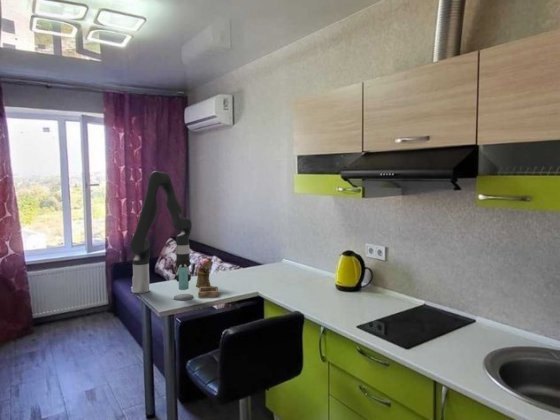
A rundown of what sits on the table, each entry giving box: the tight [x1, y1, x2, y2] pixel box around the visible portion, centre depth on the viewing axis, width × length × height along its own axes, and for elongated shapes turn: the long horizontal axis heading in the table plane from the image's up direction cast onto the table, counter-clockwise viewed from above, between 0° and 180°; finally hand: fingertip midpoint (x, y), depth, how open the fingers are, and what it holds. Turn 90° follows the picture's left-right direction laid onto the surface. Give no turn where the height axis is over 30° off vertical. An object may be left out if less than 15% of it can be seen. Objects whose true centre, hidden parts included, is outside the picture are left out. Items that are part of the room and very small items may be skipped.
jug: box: [177, 267, 190, 291], centre depth 224 cm, size 8×6×13 cm
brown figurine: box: [195, 260, 214, 289], centre depth 248 cm, size 9×14×18 cm, turn 43°
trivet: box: [173, 293, 194, 302], centre depth 226 cm, size 11×11×1 cm
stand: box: [197, 286, 219, 298], centre depth 233 cm, size 11×11×3 cm
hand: (183, 280), depth 225 cm, fingers closed on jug, 5 cm apart
